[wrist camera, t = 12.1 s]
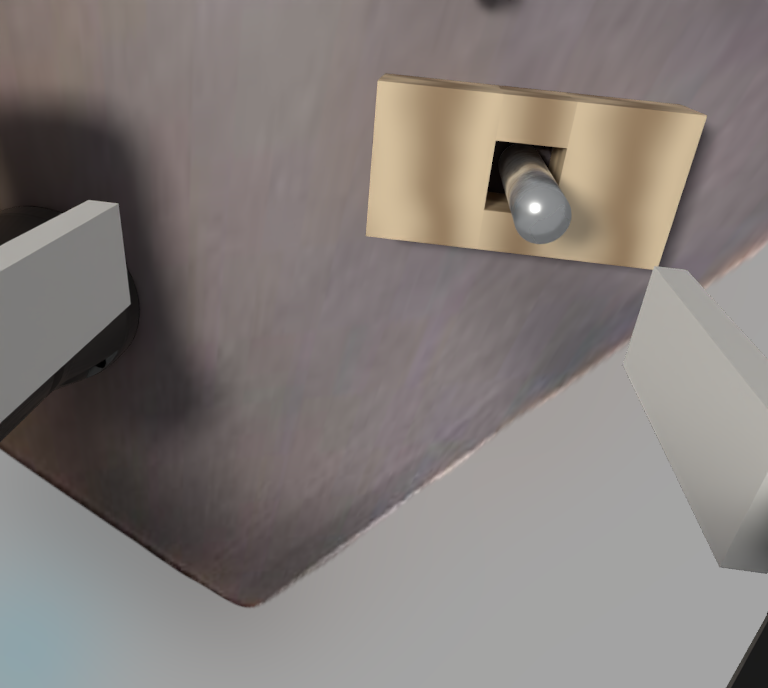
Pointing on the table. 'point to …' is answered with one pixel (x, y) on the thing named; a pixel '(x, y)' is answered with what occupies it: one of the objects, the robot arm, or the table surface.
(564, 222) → the peg
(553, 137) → the hole block
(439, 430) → the table surface
